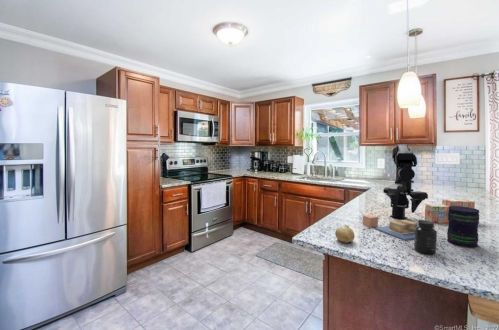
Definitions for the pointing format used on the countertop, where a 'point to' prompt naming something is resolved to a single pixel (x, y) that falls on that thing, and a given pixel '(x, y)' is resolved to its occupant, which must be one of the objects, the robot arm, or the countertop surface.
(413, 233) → the board
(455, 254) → the countertop surface
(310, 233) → the countertop surface
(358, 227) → the countertop surface
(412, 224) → the oak brick
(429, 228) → the supplement bottle
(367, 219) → the terracotta cube
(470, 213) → the storage jar
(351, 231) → the onion
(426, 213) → the stack of blocks
